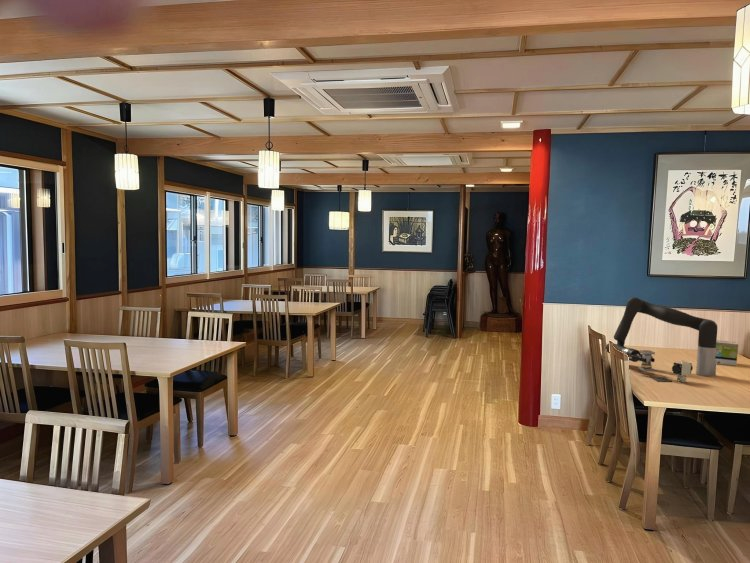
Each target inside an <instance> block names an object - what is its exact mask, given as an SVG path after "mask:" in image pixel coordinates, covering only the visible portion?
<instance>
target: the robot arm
mask: <svg viewBox="0 0 750 563" xmlns="http://www.w3.org/2000/svg"><path fill="white" fill-rule="evenodd" d="M638 313H640V314H645V315H647V316H651V317H652V318H654V319H657V320H659V321H662V322H664V323H667V324H671V325H674V326H680V327H686V328H689V329H693V330H695V331H698V340H697V353H696V354H697V356H696V369H695V374H696V375H698V376H702V377H703V376H704V377H716V375H717V374H716V373H717V364H716V362H717V361H716V360H715V353H716V341H717V340H718V339H717V338H718V325H717V323H716V322H715V321H714V320H712V319H708V318H702V317H699V316H698V317H697V316H694V315H691V314H689V313H686V312H683V311H681V310H677V309H676V308H672V307H669V306H668V307H667V306H663V305H658V304H653V303H650V302H648V301H646V300H643V299H642V298H639V297H635V296H634V297H630V298H629V299H628V300H627V302H626V305H625V309H624V313H623V316H622V318H621V321H620V322H619V325H618V326H617V328H616V330H615V333H614V335H613V339H614V340H615V341H616V343H614V342H612V343H613V346H614V347H615V348H616V349H617V350H619V351H621V352H623V353H625V354H627V355H628V357H629V360H628V361H630V362H634V363H637V362H641V363H642V362H646V358H642V355H643V353H640V350H638V349H636V348H632V347H627V346H625V344H626V343H625V342H626V338H627V337H628V334H629V332H630V330H631V327H632V324H633V322H634V319H635V318H636V315H637V314H638ZM609 343H610V342H608V343H607V344H606V345H605V350H606V349H607V351H606V352H607V354H610V352H609ZM651 363H655V358H654V357H653V356H652V357H651Z"/></svg>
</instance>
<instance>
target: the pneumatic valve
mask: <svg viewBox="0 0 750 563" xmlns="http://www.w3.org/2000/svg"><path fill="white" fill-rule="evenodd" d="M693 368H694V367H693V363H692V362H689V361H688V362H687V361H684V360H682V361H677V362H673V365H672V366H671V371H672V374H674V375H677V376H676V377H677V378H676V382H679V383H686V382H687V375H692V372H693Z"/></svg>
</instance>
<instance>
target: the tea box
mask: <svg viewBox="0 0 750 563" xmlns="http://www.w3.org/2000/svg"><path fill="white" fill-rule="evenodd" d="M738 350H739V344H738V343H737V342H735V341H728V340H718V339H717V341H716V353H715V360H716V361H717V362H716V365H724V364H725V366H732V365H736V366H737V363H738Z"/></svg>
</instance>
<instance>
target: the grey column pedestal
mask: <svg viewBox="0 0 750 563" xmlns="http://www.w3.org/2000/svg"><path fill="white" fill-rule="evenodd" d="M639 351H640V353H641V354H643V355H642V358H646V362H642V361H641V365H639V366H638V369H640V370H641V371H643V372H655V368H653V367H652V366H653V365H652V362H651V357H652V355H655V354H656V352H655V351H653V350H649V349H647V350H645V349H642V350H641V349H639Z"/></svg>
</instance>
